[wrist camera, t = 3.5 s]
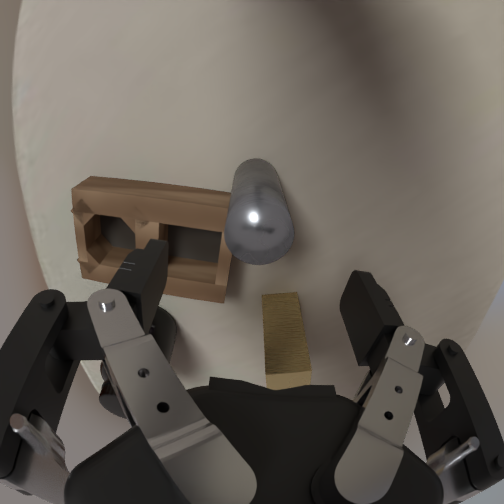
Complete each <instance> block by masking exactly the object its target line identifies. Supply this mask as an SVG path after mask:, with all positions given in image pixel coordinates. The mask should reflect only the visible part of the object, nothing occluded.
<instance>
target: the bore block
mask: <svg viewBox="0 0 504 504" xmlns="http://www.w3.org/2000/svg"><path fill="white" fill-rule="evenodd" d="M71 190H72V204H73V209H72V210H71V212H72V213H73V216H74V225H75V234H76V242H77V249H78V256H79V258H78V260H77V261H78V262H79V263H80V268H81V273H82V278H85V279H89V280H94V281H99V282H103V283H108V284H109V283H110V281H111V280H112V278H113V277H114V275H115V273H116V272H117V270H118V269H119V268H120V266H121V264H122V263H123V261H124V260H125V258H126V256H127V255H128V254H129V253H130V252H132V251H134V250H135V249H137V248H139V249H144V248H145V247H146V245H147V243H148V242H149V240H150V239H157V240H164V241H168V244H169V249H168V276H167V282H166V286H165V289H164V292H163V294H167V295H173V296H179V297H185V298H191V299H197V300H204V301H210V302H217V303H224V300H225V294H226V287H227V281H228V275H229V269H230V263H231V257H232V253H231V252H230V251H229V249H228V247H227V245H226V243H225V239H224V229H225V223H226V218H227V212H228V207H229V201H230V196H231V193H229V192H222V191H215V190H208V189H201V188H194V187H187V186H179V185H171V184H163V183H155V182H146V181H137V180H127V179H117V178H106V177H95V176H90V177H89V178H87V179H86V180H84V181H83V182H81V183H80V184H78V185H77V186H75V187H74V188H72V189H71Z"/></svg>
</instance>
